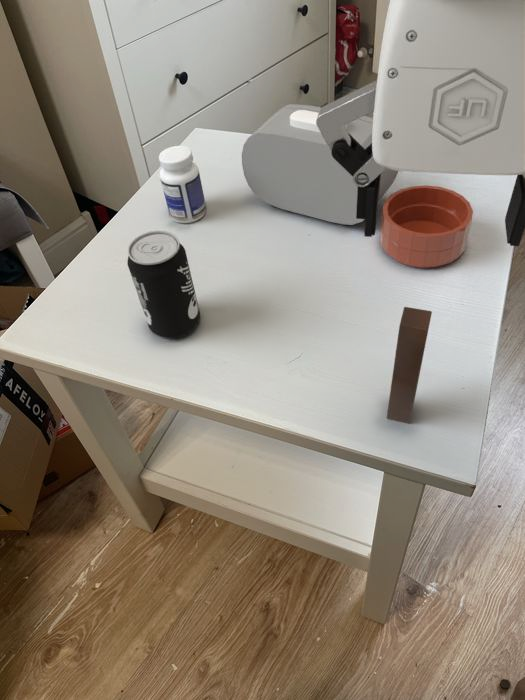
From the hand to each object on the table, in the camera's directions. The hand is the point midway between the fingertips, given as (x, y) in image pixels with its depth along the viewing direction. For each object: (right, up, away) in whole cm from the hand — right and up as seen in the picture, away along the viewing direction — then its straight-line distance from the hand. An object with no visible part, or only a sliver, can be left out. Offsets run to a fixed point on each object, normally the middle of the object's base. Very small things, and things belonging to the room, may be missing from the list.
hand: (439, 229), depth 40 cm
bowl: (+9, +6, +37) cm, 38 cm away
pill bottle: (-24, +12, +46) cm, 54 cm away
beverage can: (-24, -5, +31) cm, 39 cm away
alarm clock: (-4, +14, +45) cm, 48 cm away
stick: (+2, -15, +19) cm, 24 cm away
